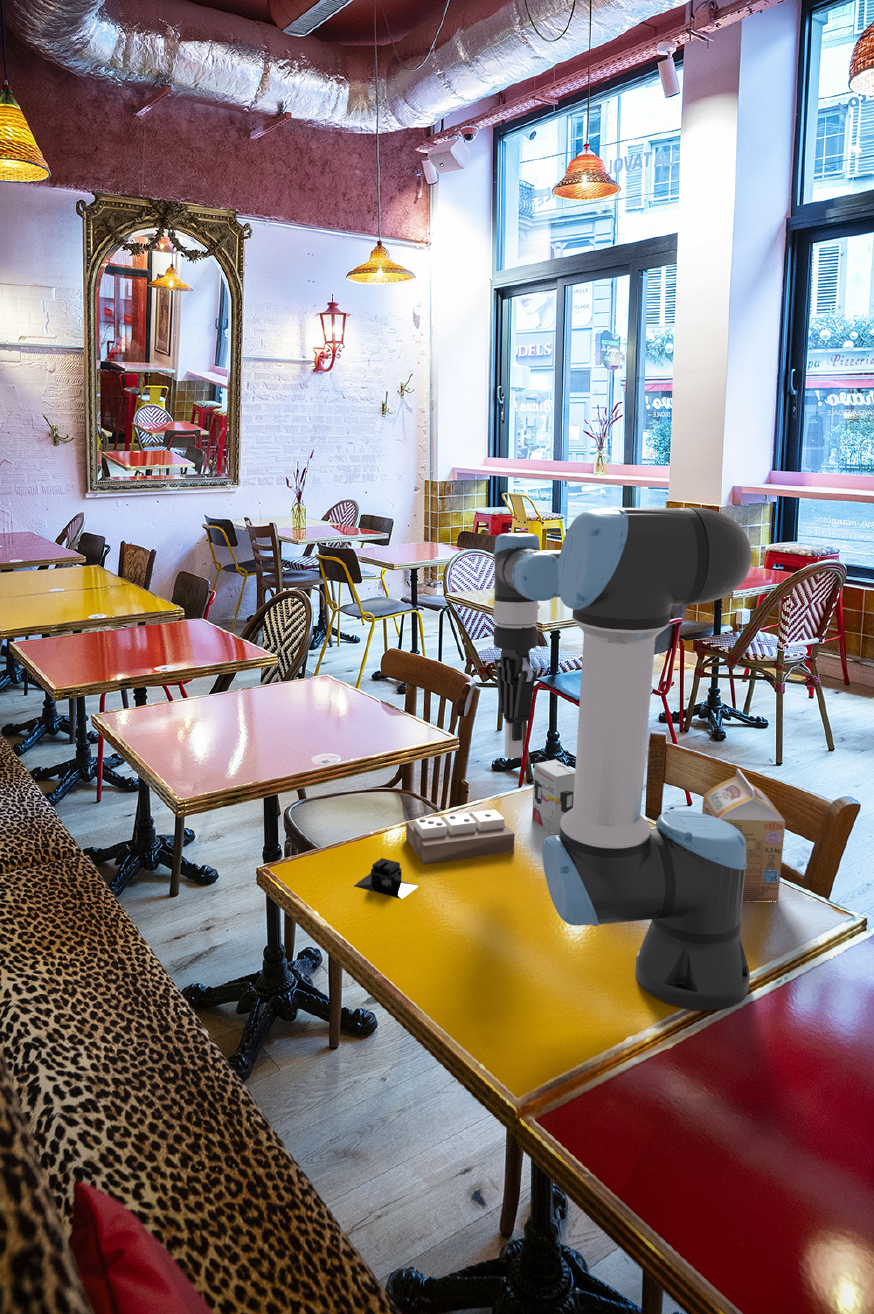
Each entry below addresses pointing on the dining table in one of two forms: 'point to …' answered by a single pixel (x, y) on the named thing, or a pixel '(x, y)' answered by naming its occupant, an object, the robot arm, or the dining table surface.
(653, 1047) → the dining table surface
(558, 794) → the ink box
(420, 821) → the tile three
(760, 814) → the milk carton
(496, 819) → the tile one
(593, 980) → the dining table surface
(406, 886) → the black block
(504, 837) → the board
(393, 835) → the dining table surface
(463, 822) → the tile two
